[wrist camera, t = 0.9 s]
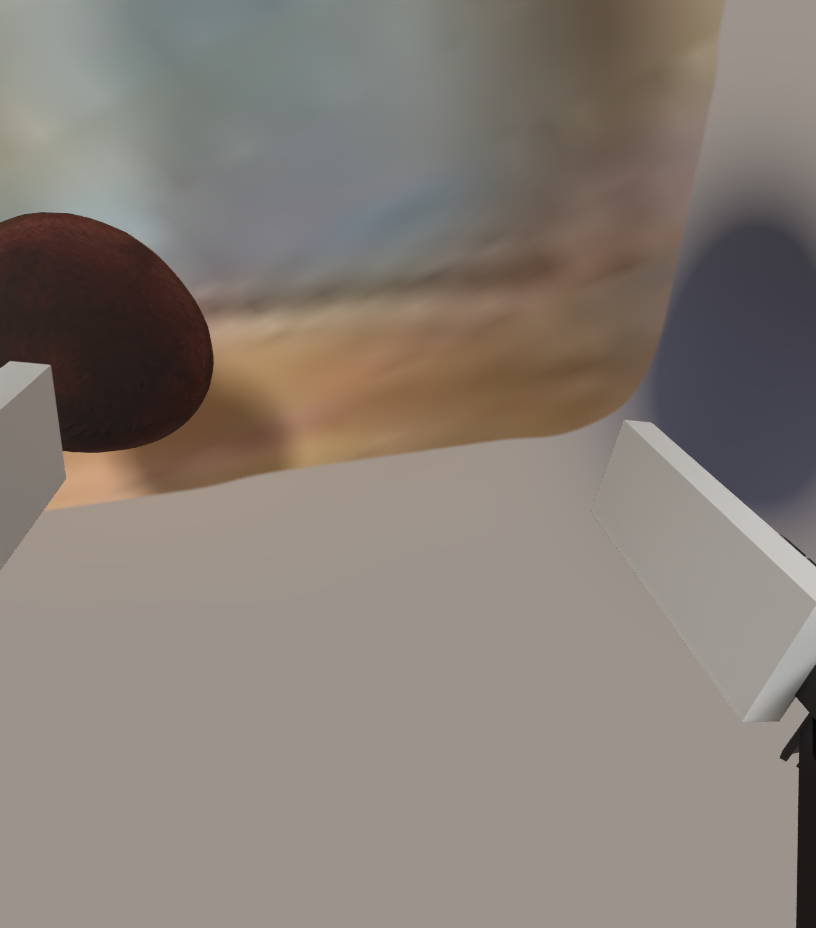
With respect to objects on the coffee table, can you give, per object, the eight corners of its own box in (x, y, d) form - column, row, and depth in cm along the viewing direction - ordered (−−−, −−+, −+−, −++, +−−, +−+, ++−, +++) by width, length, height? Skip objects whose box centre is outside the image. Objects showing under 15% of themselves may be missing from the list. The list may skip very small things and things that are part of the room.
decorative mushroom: (111, 146, 32) (-27, 154, 19) (274, 286, 37) (250, 369, 24) (8, 296, 35) (-174, 391, 22) (170, 408, 40) (99, 541, 27)
